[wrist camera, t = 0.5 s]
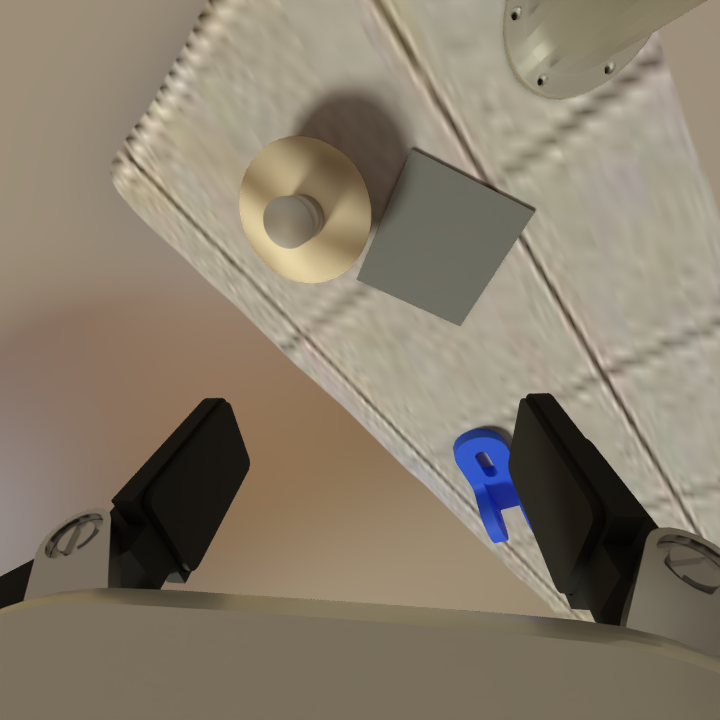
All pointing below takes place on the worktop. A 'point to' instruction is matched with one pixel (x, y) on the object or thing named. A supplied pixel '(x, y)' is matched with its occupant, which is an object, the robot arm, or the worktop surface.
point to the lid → (305, 209)
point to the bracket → (488, 478)
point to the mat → (441, 239)
